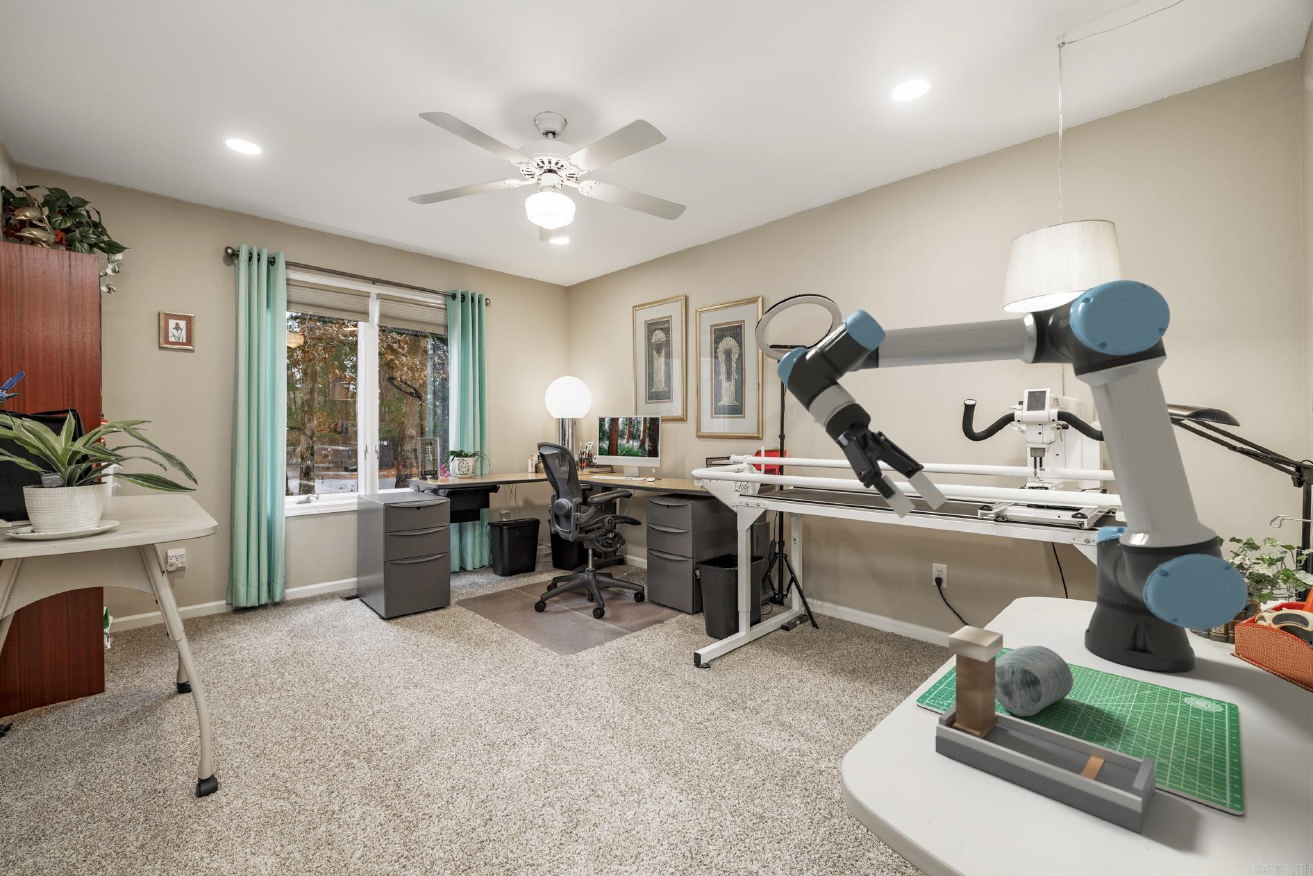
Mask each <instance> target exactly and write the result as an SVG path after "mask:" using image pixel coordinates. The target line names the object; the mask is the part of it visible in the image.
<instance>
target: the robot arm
mask: <svg viewBox="0 0 1313 876" xmlns="http://www.w3.org/2000/svg"><path fill="white" fill-rule="evenodd" d="M1170 310H1171V309H1170V308H1169V304H1168V302H1167V300H1166V299H1165V297H1164V296H1163V295H1162V294H1161V293H1160V292H1159V291H1158V290H1157V289H1155V288H1154V287H1152V286H1151V285H1148V284H1146V283H1143V282H1140V281H1137V280H1129V279H1126V280H1125V279H1123V280H1122V279H1121V280H1112V281H1108V282H1105V283H1102V284H1099V285H1097V286H1093V287H1090V288H1088V289H1087V290H1085V291H1083V293H1081V294H1080V295H1079V296H1077V297H1075V298H1074V299H1072V300H1071V301H1069V302H1066V303H1065V304H1061V305H1059V306H1056V307H1052V308H1048V309H1044V310H1036V311H1027V312H1025V313H1024V314H1023V315H1022V316H1021V317H1019V318H1010V319H1009V318H1008V319H1000V320H998V319H996V320H986V321H975V322H963V323H951V324H944V325H943V324H939V325H929V326H928V325H926V326H920V327H919V326H918V327H907V328H895V329H894V328H893V329H883V327H882V326H881V325H880V323H879V322H878V321H877V320H876V319H875V318H874V317H873V316H872V315H870V314H869V312H868V311H866V310H864V309H858V310H857V309H856V311H854V312H853V313H852V314H851V315H849V316H848V317H845V318H844V320H843V321H842V322H841V323H840V324H839V325H838V326H837V327H836V328H835V329H834V330H832V331H831V332H830V333H829V334H827V336H826V337H824V339H823V340H821V342H819V343H818V344H817V345H816V346H814V347H813V348H812V349H811V350H809V349H807V348H805V347H802V346H801V347H795V348H794V349H793V350H792V351H789V352H786V354H785V355H784V356H783V357H782V358H781V360H780V361H779V363H778V365H777V366H776V367H777V369H776V375H777V376H778V378H779V379H780V380H781V382H782V383H783V384H784V386H785V387H786V389H787V390H788V391H789V392H790V393H791V394H792V395H793V396H794V398H796V400H797V401H798V402H799V403H800V405H802V406H803V408H804V409H805V410H806V411H807V412H808V413H809V414H810V415H811V416H812V418H813V422H814V423H816V424H819V426H821V428H823V429H825V433H827V435H828V436H829V437H830V438H831V440H833V441H834V443H835V444H837V445H838V446H839V448H840V449H841V451H842V452H843V454H844V455H845V457H846V460H847V461H848V462H849V464H850V466H851V469H852V470H853V472H854V474H855V476H856V478H857V479H858V480H859V481H858V482H860V483H862V485H863V487H864V488H866V489H870V488H871V487H873V488H874V489H875V491H876V492H877V493H878V494H879V495H880V496H881V498H883V500H884V501H885V502H886V503H887V504H888V506H889V507H890V508H891V509H892V510H893V511H894V512H895V513H896V515H897V516H898V517H899V518H900V519H904V517H906V516H907V515H909V513H910V512H912V511H913V510H914V509H915V508H916V505H915V504H914V503H913V501H911V500H910V499H909V498H908V497H907V496H906V495H905V494H904V492H903V491H902V490H901V489H900V488H899V487H898V486H897V484H895V483H894V481H893V480H892V479H891V478H890V477H889V476H888V475H887V474H886V475H883V473H882V470H881V468H880V464H879V461H882V462H883V463H885V464H886V465H888V466H889V467H891V468H892V469H893V470H895V471H896V472H898V473H899V474H901V475H903V477H905V478H907V479H908V480H907V482H908V483H909V485H910V486H911V487H912V488H913V489H914V490H915V491H916V492H917V493H918V494H919V495H920V497H921V498H923V500H924V501H926V503H927V504H928V505H929V506H930V507H931V508H932V509H933V510H937V509H938V508H939V507H941V506H942V505H943V504H944V503H945V502H947V501H948V498H947V497H946V496H945V494H943V493H942V492H941V491H940V489H938V488H937V486H936V485H934V483H933V482H932V481H931V480H930V479H929V478H928V477H927V476H926V475H925V473H923V472H922V471H923V470H924V468H925V466H924V465H923V464H922V463H919V462H918V461H917V460H916V459H914V458H913V457H912V456H910V454H908V453H907V452H905V451H904V450H903V449H902V448H900V447H899V446H898V445H897V444H895V443H894V442H893V441H892V440H890V439H889V437H887V435H885V434H884V433H883V432H882V431H880V430H878V431H877V432H875V431H872V430H871V429H870V428H869V426H870V423H871V421H872V417H871V415H870V414H869V412H867V411H866V410H865V408H863V406H862V405H860V404H859V403H858V402H857V401H856V398H854V397H853V396H852V395H851V393H849V392H848V390H847V389H846V388H844V387H843V385H842V384H840V383H839V382H838V381H839V380H840V379H841V378H842V377H844V375H846V374H847V373H848V372H850V373H851V372H852V373H854V372H858V371H861V370H872V369H881V368H882V369H883V368H899V367H912V366H913V367H914V366H915V367H916V366H917V367H918V366H930V365H933V366H934V365H945V364H948V365H949V364H961V363H977V362H992V361H993V362H994V361H995V362H996V361H1006V360H1007V361H1008V360H1021V361H1022V362H1023V363H1025V364H1026V365H1028V364H1029V365H1031V364H1068V365H1069V364H1070V365H1072V369H1073V373H1074V376H1075V378H1076V379H1077V380H1079V381H1081V382H1083V383H1085V384H1087V385H1088V386H1089V389H1090V391H1091V395H1092V399H1093V403H1094V406H1095V411H1096V414H1097V418H1098V421H1099V425H1100V429H1101V432H1102V436H1103V440H1104V443H1105V448H1106V452H1107V456H1108V458H1109V462H1110V466H1111V469H1112V473H1113V477H1114V480H1115V484H1116V488H1117V491H1118V495H1119V499H1120V500H1119V501H1120V503H1121V507H1122V510H1123V515H1124V518H1125V521H1126V525H1127V526H1116V525H1115V526H1114V525H1111V526H1109V525H1108V526H1107V525H1106V526H1102V527H1100V528H1099V529H1098V532H1097V539H1096V542H1095V546H1096V606H1095V609H1094V611H1093V613H1092V616H1091V618H1090V621H1089V623H1088V628H1086V629H1085V632H1084V647H1085V648H1086V649H1087V650H1088V651H1090V653H1093V654H1095V655H1096V656H1099V657H1101V658H1103V659H1106V660H1109V661H1111V662H1114V663H1118V664H1122V665H1125V666H1129V667H1130V666H1131V667H1134V668H1139V669H1143V670H1150V671H1158V672H1169V673H1170V672H1175V673H1177V672H1187V671H1190V670H1193V669H1194V668H1195V666H1196V665H1195V664H1196V658H1195V657H1196V653H1195V651H1194V648H1193V647H1192V645H1191V643H1190V640H1189V637H1188V634H1187V631H1186V629H1189V630H1209V629H1214V628H1218V627H1222V626H1223V625H1226V624H1228V623H1230V622H1231V621H1233V620H1234V618H1235V617H1237V615H1239V613H1241V612H1242V611H1243V609H1244V608H1245V605H1246V603H1247V602H1248V601H1247V600H1248V593H1249V592H1248V587H1247V586H1248V585H1247V581H1246V580H1245V578H1244V576H1243V575H1242V574H1241V572H1240V571H1239V570H1238V569H1237V568H1236V567H1235V566H1234V565H1233V564H1231V562H1229V561H1227V560H1225V559H1224V555H1223V553H1222V550H1221V549H1222V548H1221V546H1220V543H1219V538H1218V534H1217V532H1216V531H1215V530H1213V529H1211V527H1208V526H1207V525H1204V524H1202V523H1201V522H1200V521H1199V516H1198V514H1197V510H1196V507H1195V503H1194V499H1193V496H1192V495H1193V494H1192V491H1191V488H1190V485H1189V481H1188V478H1187V477H1188V476H1187V474H1186V471H1185V466H1184V463H1183V460H1182V456H1181V451H1180V449H1179V445H1178V442H1177V439H1176V434H1175V431H1174V430H1175V429H1174V427H1173V424H1172V420H1171V416H1170V412H1169V409H1168V405H1167V401H1166V397H1165V395H1164V391H1163V387H1162V384H1161V379H1160V377H1159V373H1158V372H1159V369H1160V368H1161V366H1162V365H1163V364H1164V362H1165V361H1166V360H1167V359H1168V356H1167V352H1166V349H1165V343H1164V341H1163V336H1164V335H1165V334H1166V332H1167V330H1168V328H1169V325H1170V321H1171V311H1170Z"/></svg>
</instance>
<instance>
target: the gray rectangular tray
mask: <svg viewBox="0 0 1313 876" xmlns="http://www.w3.org/2000/svg"><path fill="white" fill-rule="evenodd" d="M995 714H996V715H998V723H997V724H996V725H995V726H994V727H993V728H992V729H991V730H990V731H989V732H988V733H987V734H986V735H985V736H984V737H983V738H982V739H979V738H977V737H974V736H971V735H969V734H966V733H963V732H960V731H958V730H955V729H953V724H955V723H956V702H955V703H954V704H953V705H952V706H951V707H950V708H948V709H947V710H946V711H945V712H943V714H941V715H940V716H938V724H937V725H935V726H936V728H935V730H936V731H935V732H936V733H935V753H939V754H940V755H943V756H946V757H949V758H951V759H954V760H956V761H958V762H961V763H963V764H966V765H969V766H972V767H974V768H976V769H978V770H981V771H984V772H986V773H988V774H990V775H994V776H996V777H998V778H1000V779H1003V780H1006V781H1008V782H1010V783H1013V784H1015V785H1018V786H1020V787H1024V788H1025V789H1029V790H1031V791H1032V792H1033V791H1034V792H1036V793H1038V794H1041V795H1043V796H1045V797H1048V798H1051V799H1053V800H1056V801H1058V802H1060V803H1063V804H1065V805H1068V806H1071V807H1073V808H1075V809H1078V810H1081V811H1083V812H1086V813H1088V814H1090V815H1093V816H1095V817H1098V818H1101V819H1104V820H1105V821H1108V822H1110V823H1112V824H1115V825H1118V826H1120V827H1123V828H1125V829H1127V830H1131V831H1132V832H1136V833H1138V834H1141V833H1142V830H1143V826H1144V823H1145V822H1146V821H1145V820H1146V818H1147V815H1148V813H1149V810H1150V807H1151V804H1152V801H1153V798H1154V795H1155V793H1156V762H1155V758H1152V757H1149V756H1146V755H1145V756H1144V758H1140V757H1137V756H1133V755H1130V754H1127V753H1124V752H1122V751H1118V750H1115V749H1112V748H1108V747H1105V746H1102V745H1100V744H1098V743H1097V744H1096V743H1093V742H1091V741H1088V740H1084V739H1081V738H1078V737H1075V736H1073V735H1070V734H1069V735H1068V734H1066V733H1063V732H1061V731H1057V730H1054V729H1052V728H1051V729H1050V728H1047V727H1045V726H1041V725H1038V724H1035V723H1033V722H1030V721H1027V720H1023V719H1020V718H1017V717H1014V716H1011V715H1008V714H1004V713H1001V712H999V711H996V710H995Z"/></svg>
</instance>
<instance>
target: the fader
mask: <svg viewBox="0 0 1313 876" xmlns="http://www.w3.org/2000/svg"><path fill="white" fill-rule="evenodd" d="M1003 650H1004V633H1001V632H997V631H993V630H987V629H984V628H979V627H975V626H970V625H965V626H963V627H961V628H960V629H958V630H957V631H955V632H953V633H952V634H951V635H949V636H948V653H951V654H954V655H955V703H956V723H955V724H953V729H955V730H958V731H960V732H963V733H966V734H969V735H971V736H974V737H977V738H979V739H982V738H983V737H984V736H985V735H986V734H987V733H988V732H989V731H990V730H991V729H992V728H993V727H994V726H995V725H996V724H997V723H998V715H996V714H995V711H996V697H995V666H996V660H997V659H996V655H998V654H999V653H1000V652H1001V651H1003Z"/></svg>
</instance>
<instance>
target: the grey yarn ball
mask: <svg viewBox="0 0 1313 876" xmlns="http://www.w3.org/2000/svg"><path fill="white" fill-rule="evenodd" d="M1073 682H1074V677H1073V675H1072V672H1071V670H1070V667H1069V665H1068V664H1067V663H1066V661H1065V659H1064V658H1063V657H1061V656H1060V655H1059V654H1058V653H1057V652H1055V651H1054V650H1052V649H1051V648H1049V647H1046V646H1042V645H1025V646H1022V647H1018V648H1015V649H1012V650H1010V651H1008V652H1006V653H1004V654H1003V655H1001V656H1000V657H999V658H997V659H996V666H995V700H997V701H998V703H999V704H1000V705H1001V706H1002V707H1003V708H1004V709H1005V710H1006V711H1008V712H1010V713H1011V714H1012V715H1015V716H1018V717H1032V716H1035V715H1037V714H1038V713H1039V712H1041V710H1043V709H1045V708H1047V707H1048V706H1051V705H1052V704H1053V703H1057V702H1058V701H1060V700H1062V699H1065V698H1066V697H1067V696H1068V695H1069V693H1071V691H1072V689H1073V686H1074V683H1073Z"/></svg>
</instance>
